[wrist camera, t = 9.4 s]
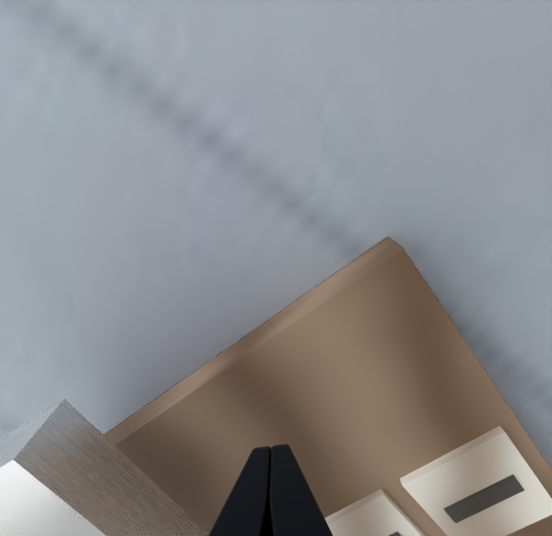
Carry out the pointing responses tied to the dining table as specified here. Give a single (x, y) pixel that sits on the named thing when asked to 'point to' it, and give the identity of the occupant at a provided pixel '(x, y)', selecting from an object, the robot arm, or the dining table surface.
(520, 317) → the dining table surface
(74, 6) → the dining table surface
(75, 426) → the swing bar
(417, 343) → the label board
